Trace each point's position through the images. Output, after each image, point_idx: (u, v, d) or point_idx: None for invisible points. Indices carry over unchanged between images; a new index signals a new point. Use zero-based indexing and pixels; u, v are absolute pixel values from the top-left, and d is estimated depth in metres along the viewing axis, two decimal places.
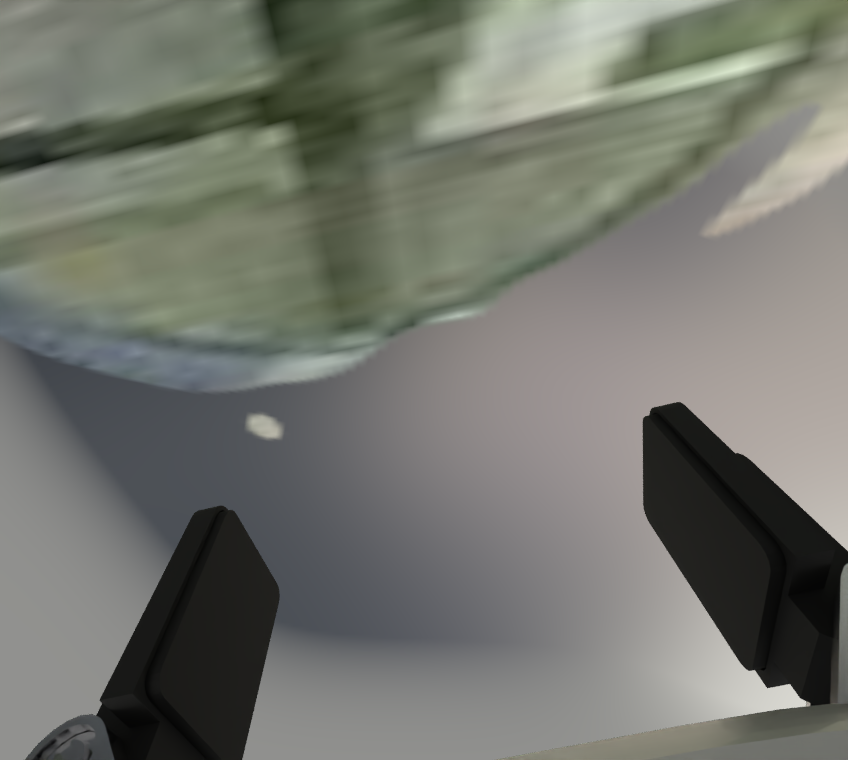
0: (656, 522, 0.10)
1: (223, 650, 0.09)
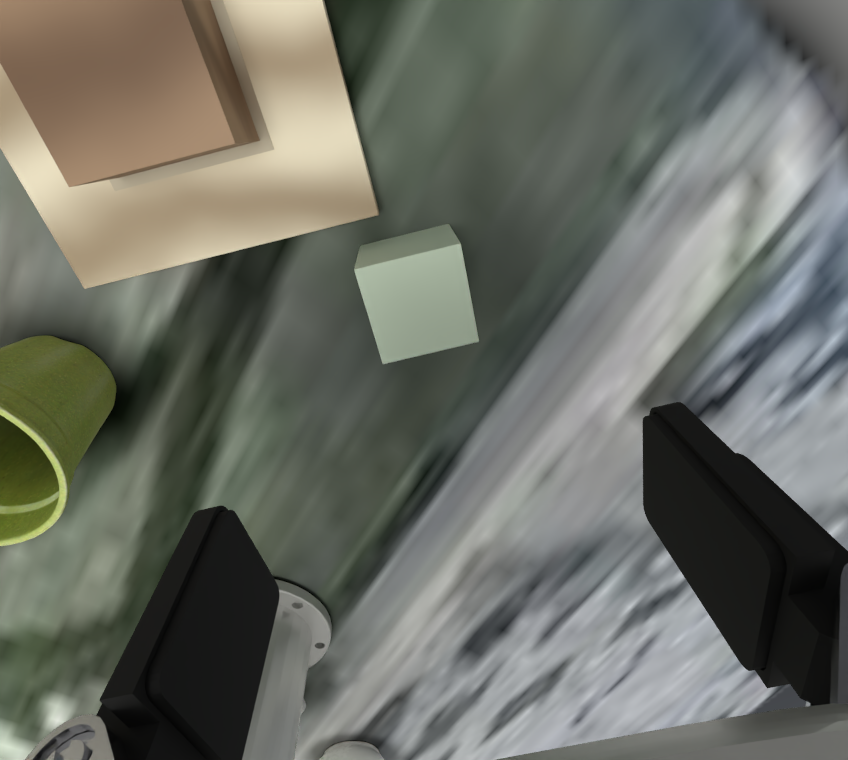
0: (656, 522, 0.10)
1: (223, 650, 0.09)
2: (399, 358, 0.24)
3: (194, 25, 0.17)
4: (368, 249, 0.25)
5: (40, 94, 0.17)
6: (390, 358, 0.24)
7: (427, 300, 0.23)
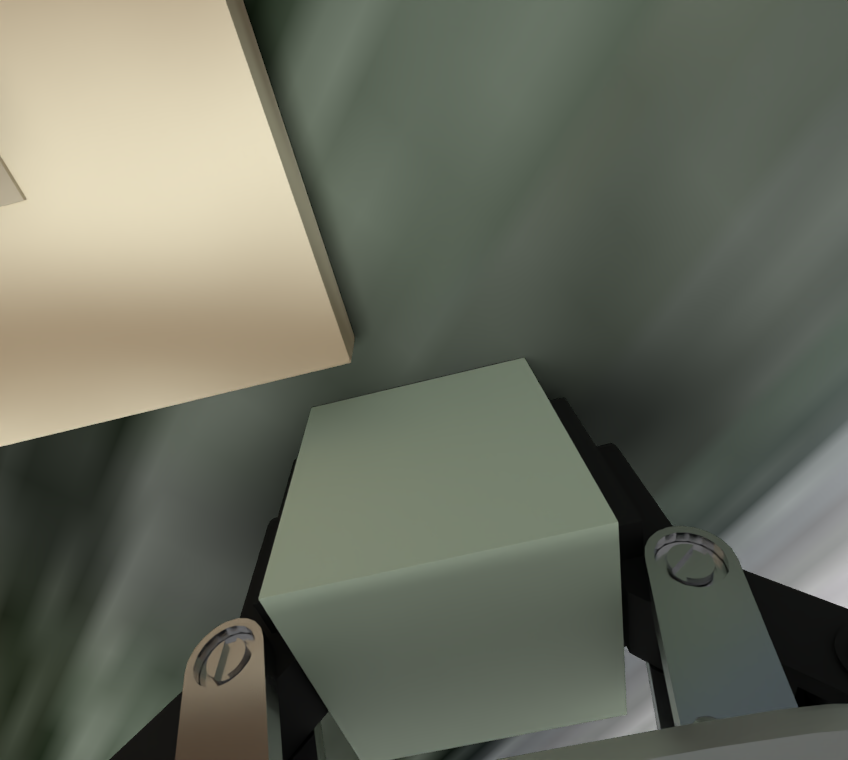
0: None
1: None
2: (407, 753, 0.09)
3: None
4: (325, 443, 0.09)
5: None
6: (383, 754, 0.09)
7: (491, 651, 0.07)
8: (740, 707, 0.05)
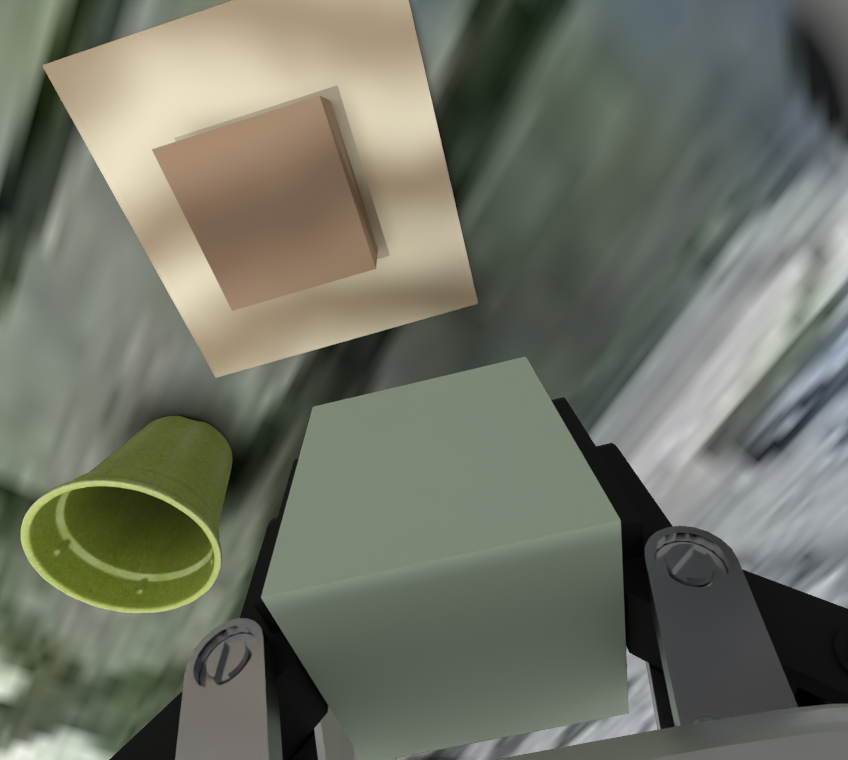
0: None
1: None
2: (409, 752, 0.09)
3: (347, 178, 0.20)
4: (327, 442, 0.09)
5: (216, 240, 0.20)
6: (385, 753, 0.09)
7: (494, 649, 0.07)
8: (739, 707, 0.05)
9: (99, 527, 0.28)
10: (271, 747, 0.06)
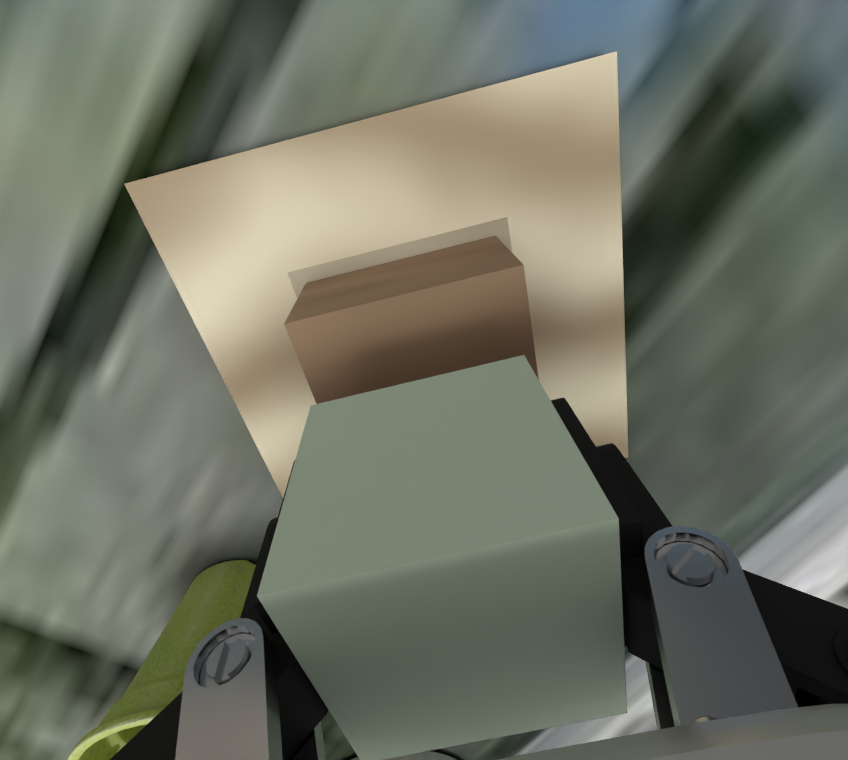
0: None
1: None
2: (407, 752, 0.09)
3: None
4: (325, 440, 0.09)
5: None
6: (382, 752, 0.09)
7: (492, 649, 0.07)
8: (740, 707, 0.05)
9: None
10: (271, 747, 0.06)
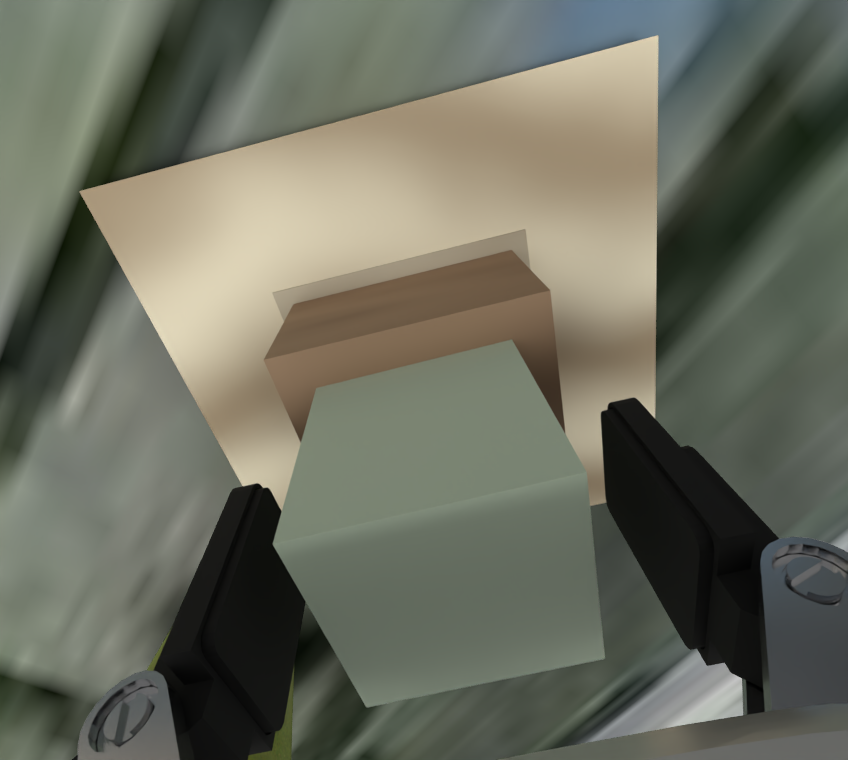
0: (615, 512, 0.11)
1: (265, 618, 0.09)
2: (406, 696, 0.10)
3: None
4: (329, 417, 0.10)
5: None
6: (384, 697, 0.10)
7: (480, 595, 0.08)
8: None
9: None
10: None
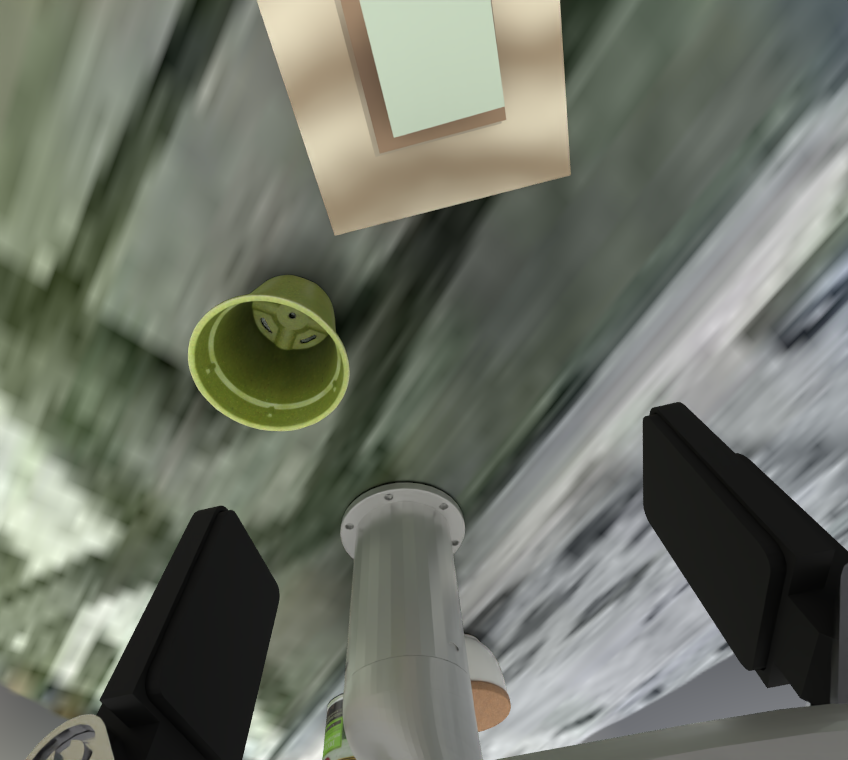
0: (656, 522, 0.10)
1: (223, 650, 0.09)
2: (412, 129, 0.21)
3: None
4: None
5: (378, 84, 0.24)
6: (402, 129, 0.21)
7: (444, 45, 0.19)
8: None
9: (232, 361, 0.32)
10: None
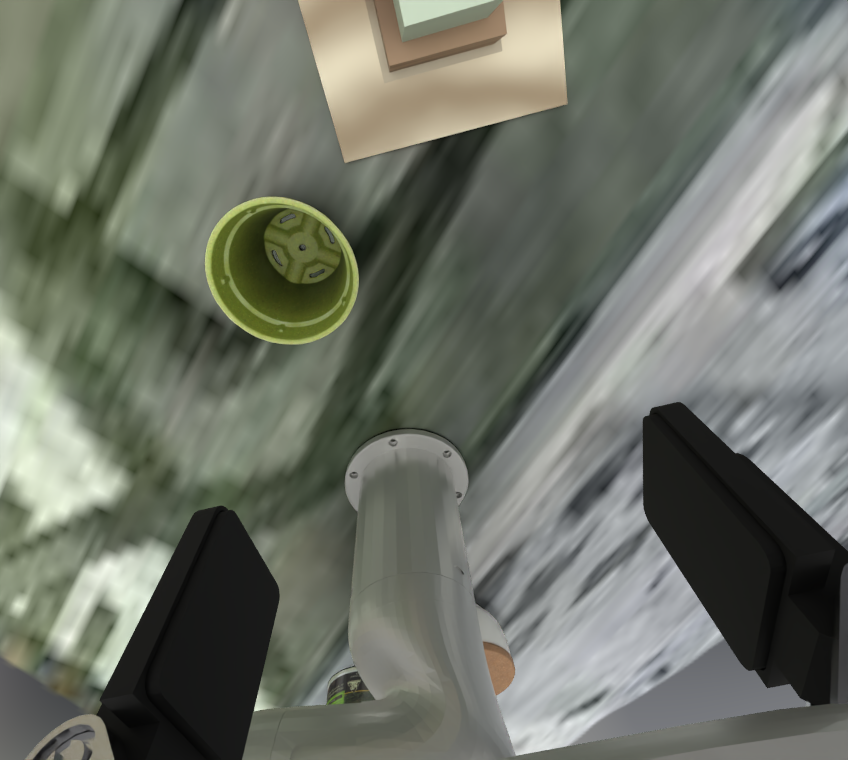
0: (656, 522, 0.10)
1: (223, 650, 0.09)
2: (422, 18, 0.23)
3: None
4: None
5: None
6: (412, 18, 0.23)
7: None
8: None
9: (245, 281, 0.33)
10: None
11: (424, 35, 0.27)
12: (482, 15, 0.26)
